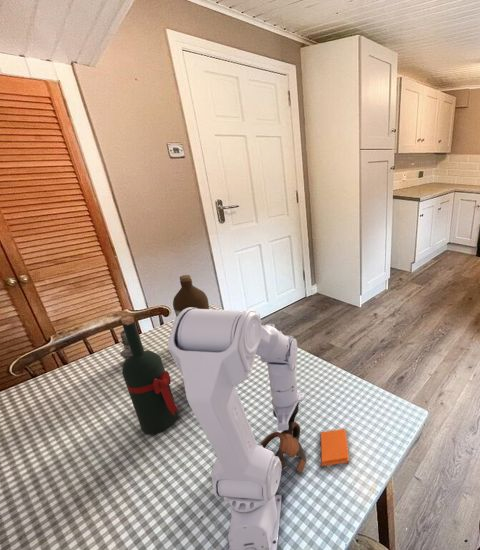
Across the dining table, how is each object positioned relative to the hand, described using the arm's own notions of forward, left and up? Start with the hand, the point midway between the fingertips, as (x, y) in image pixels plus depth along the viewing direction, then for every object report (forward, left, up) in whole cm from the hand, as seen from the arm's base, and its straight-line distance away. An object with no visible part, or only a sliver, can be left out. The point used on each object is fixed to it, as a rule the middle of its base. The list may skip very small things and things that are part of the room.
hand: (289, 427), depth 73 cm
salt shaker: (+37, +53, -2) cm, 64 cm away
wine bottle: (+8, +32, -2) cm, 33 cm away
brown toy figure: (-7, +1, -2) cm, 7 cm away
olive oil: (+46, +36, -2) cm, 58 cm away
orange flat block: (-6, -10, -2) cm, 12 cm away
